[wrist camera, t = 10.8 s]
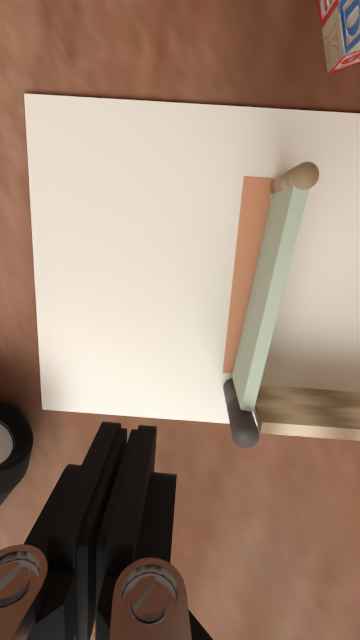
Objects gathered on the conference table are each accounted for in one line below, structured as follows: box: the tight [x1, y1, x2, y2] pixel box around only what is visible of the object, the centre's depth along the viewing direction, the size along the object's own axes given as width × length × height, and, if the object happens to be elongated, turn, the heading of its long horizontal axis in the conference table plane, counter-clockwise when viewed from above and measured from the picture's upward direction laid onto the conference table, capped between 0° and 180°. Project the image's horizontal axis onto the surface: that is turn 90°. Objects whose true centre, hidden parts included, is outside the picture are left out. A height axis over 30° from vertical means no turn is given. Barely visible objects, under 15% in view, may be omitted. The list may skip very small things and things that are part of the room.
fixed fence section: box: [223, 378, 360, 448], centre depth 29 cm, size 16×2×8 cm, turn 87°
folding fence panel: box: [232, 162, 319, 412], centre depth 26 cm, size 18×2×6 cm, turn 171°
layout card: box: [24, 94, 360, 426], centre depth 30 cm, size 34×28×1 cm
